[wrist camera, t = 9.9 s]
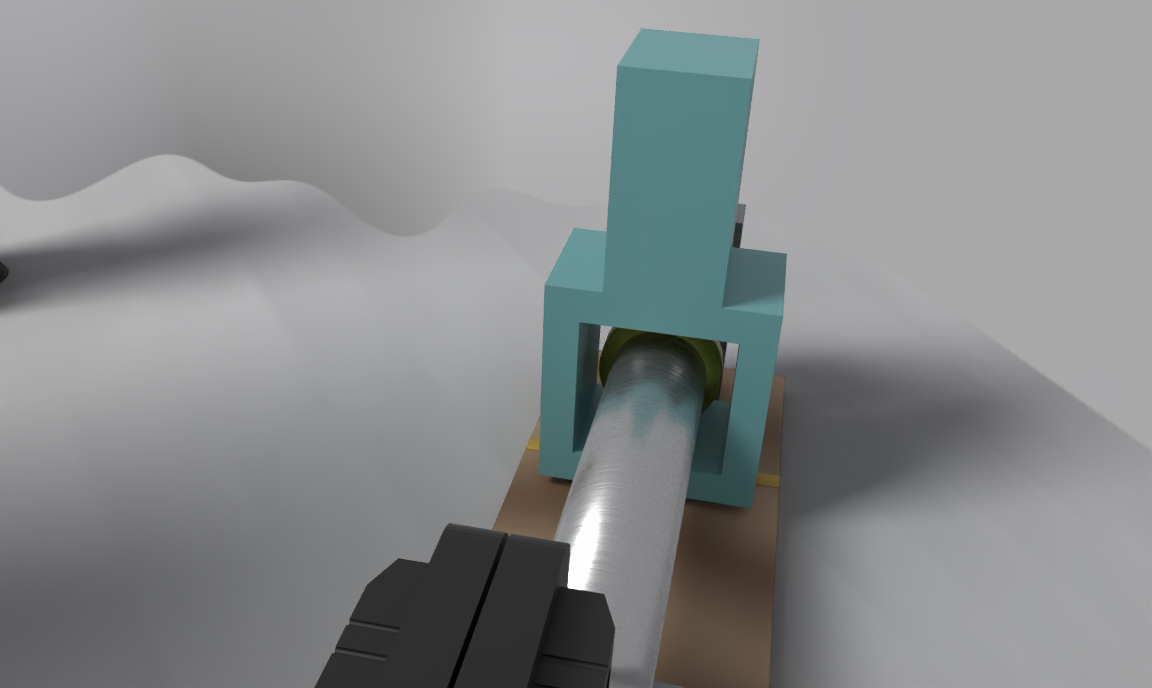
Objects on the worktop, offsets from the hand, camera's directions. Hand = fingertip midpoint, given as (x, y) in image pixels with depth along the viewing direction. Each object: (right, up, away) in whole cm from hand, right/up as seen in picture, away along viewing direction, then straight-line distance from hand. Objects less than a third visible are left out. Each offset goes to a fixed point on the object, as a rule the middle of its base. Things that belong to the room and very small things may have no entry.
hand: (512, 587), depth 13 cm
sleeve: (+3, 0, +20) cm, 20 cm away
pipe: (+2, -3, +17) cm, 18 cm away
